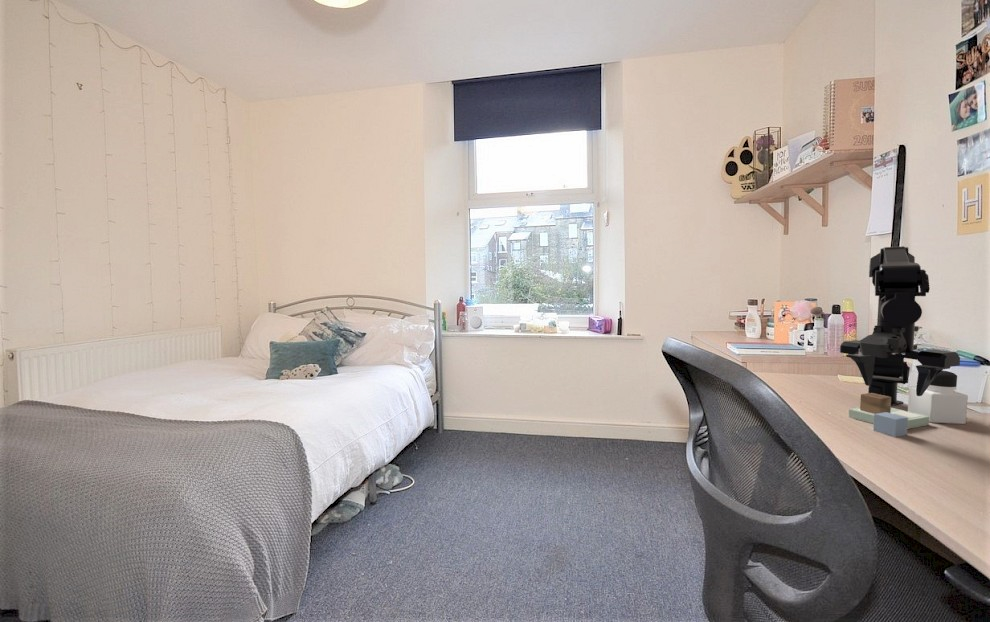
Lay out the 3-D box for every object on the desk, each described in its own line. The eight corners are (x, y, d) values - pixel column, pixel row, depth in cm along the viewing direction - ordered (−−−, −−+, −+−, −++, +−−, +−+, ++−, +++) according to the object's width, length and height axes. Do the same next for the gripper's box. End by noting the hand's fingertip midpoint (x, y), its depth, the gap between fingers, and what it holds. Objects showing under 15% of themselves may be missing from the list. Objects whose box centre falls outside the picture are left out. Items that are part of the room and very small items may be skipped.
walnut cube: (870, 408, 101) (871, 392, 101) (890, 413, 98) (891, 397, 97) (860, 410, 100) (860, 394, 100) (879, 415, 96) (880, 398, 96)
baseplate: (877, 411, 105) (878, 404, 105) (928, 424, 95) (929, 416, 95) (848, 416, 101) (849, 408, 101) (898, 430, 92) (899, 421, 92)
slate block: (884, 428, 94) (885, 412, 93) (906, 435, 90) (907, 417, 89) (873, 431, 92) (874, 414, 92) (895, 437, 89) (896, 419, 88)
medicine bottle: (966, 424, 95) (970, 374, 94) (930, 422, 96) (933, 373, 96) (940, 414, 102) (943, 368, 101) (906, 413, 103) (909, 367, 103)
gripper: (825, 319, 96) (822, 384, 97) (929, 328, 78) (924, 406, 79) (857, 317, 99) (853, 379, 100) (964, 325, 81) (958, 400, 82)
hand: (892, 390), depth 90 cm, fingers open, 9 cm apart
